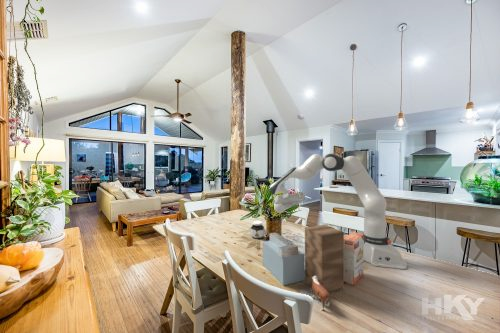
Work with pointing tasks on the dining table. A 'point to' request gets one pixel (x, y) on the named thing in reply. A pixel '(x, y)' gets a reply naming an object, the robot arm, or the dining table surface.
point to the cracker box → (353, 257)
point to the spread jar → (258, 230)
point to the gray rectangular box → (283, 264)
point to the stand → (324, 256)
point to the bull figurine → (320, 292)
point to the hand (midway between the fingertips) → (295, 193)
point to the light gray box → (284, 245)
